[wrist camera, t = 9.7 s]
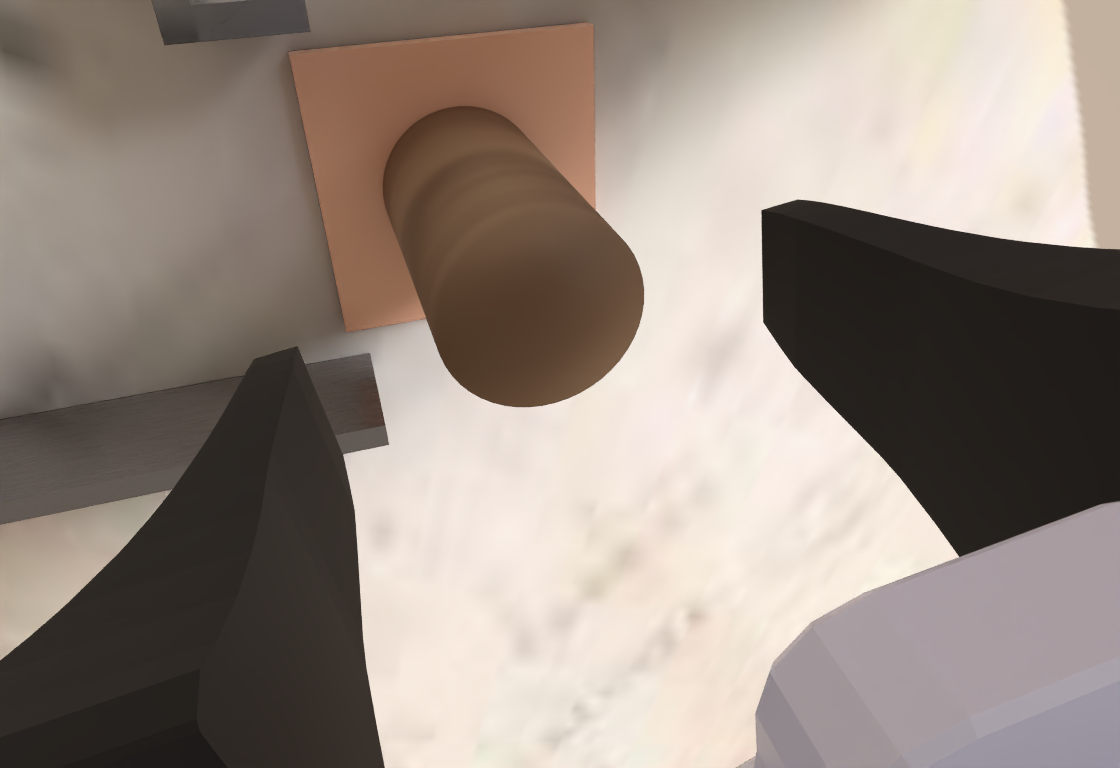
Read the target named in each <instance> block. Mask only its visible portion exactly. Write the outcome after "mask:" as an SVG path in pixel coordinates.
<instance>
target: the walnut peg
mask: <svg viewBox="0 0 1120 768" xmlns="http://www.w3.org/2000/svg"><path fill="white" fill-rule="evenodd" d="M383 197H384V203H385V207H386V210H387V213H388V216H389V219H390V222H391V224H392V227H393V230H394V232H395V235H396V238H397V241H398V243H399V246H400V249H401V251H402V254H403V257H404V260H405V262H406V265H407V268H408V270H409V273H410V276H411V278H412V281H413V284H414V287H415V289H416V292H417V295H418V297H419V300H420V303H421V305H422V308H423V311H424V314H425V316H426V319H427V322H428V324H429V327H430V330H431V333H432V335H433V338H434V341H435V343H436V346H437V349H438V351H439V354H440V356H441V358H442V360H443V362H444V364H445V366H446V368H447V369H448V371H449V372H450V373H451V375H452V376H453V377H454V378H455V379H456V380H457V381H458V382H459V383H460V385H462V386H463V387H464V388H466V389H467V390H468V391H470V392H471V393H473V394H475V395H476V396H478V397H480V398H482V399H485V400H487V401H490V402H492V403H496V404H500V405H504V406H512V407H535V406H543V405H548V404H552V403H556V402H559V401H562V400H565V399H568V398H570V397H572V396H575V395H577V394H579V393H581V392H582V391H584V390H586V389H588V388H589V387H591V386H592V385H594V384H595V383H596V382H598V381H599V380H600V379H602V378H603V377H604V376H605V375H606V374H607V373H608V372H609V371H611V370H612V368H613V367H614V366H615V365H616V364H617V363H618V362H619V361H620V359H621V358H622V357H623V355H624V354H625V352H626V351H627V350H628V348H629V346H630V344H631V342H632V341H633V339H634V337H635V334H636V332H637V329H638V327H639V324H640V320H641V316H642V312H643V305H644V286H643V278H642V274H641V271H640V267H639V265H638V262H637V260H636V258H635V256H634V254H633V253H632V251H631V249H630V248H629V246H628V245H627V244H626V243H625V242H624V240H623V239H622V238H621V237H620V236H619V235H618V234H617V233H616V232H615V231H614V230H613V229H612V227H611V226H610V225H609V224H608V223H607V222H606V221H605V220H604V219H603V218H602V217H601V216H600V215H599V214H598V212H597V211H596V210H595V209H594V208H593V207H592V206H591V205H590V204H589V203H588V202H587V201H586V200H585V199H584V198H583V196H582V195H581V194H580V193H579V192H578V191H577V190H576V189H575V188H574V187H573V186H572V185H571V184H570V183H569V181H568V180H567V179H566V178H565V177H564V176H563V175H562V174H561V173H560V172H559V171H558V170H557V169H556V168H555V166H554V165H553V164H552V163H551V162H550V161H549V160H548V159H547V158H546V157H545V156H544V155H543V154H542V153H541V151H540V150H539V149H538V148H537V147H536V146H535V145H534V144H533V143H532V142H531V141H530V140H529V139H528V138H527V136H526V135H525V134H524V133H523V132H522V131H521V130H520V129H519V128H518V127H517V126H516V125H515V124H513V123H512V122H511V121H510V120H508V119H507V118H505V117H504V116H502V115H500V114H498V113H496V112H493V111H491V110H487V109H484V108H480V107H473V106H457V107H450V108H445V109H442V110H438V111H436V112H433V113H431V114H429V115H427V116H425V117H423V118H422V119H420V120H418V121H417V122H416V123H415V124H413V125H412V126H411V127H410V128H409V129H408V130H407V131H406V132H405V133H404V134H403V135H402V136H401V137H400V139H399V140H398V141H397V143H396V144H395V146H394V148H393V149H392V151H391V153H390V155H389V158H388V160H387V163H386V167H385V171H384V177H383Z"/></svg>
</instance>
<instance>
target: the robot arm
mask: <svg viewBox="0 0 1120 768" xmlns="http://www.w3.org/2000/svg"><path fill="white" fill-rule="evenodd" d="M761 211H762V270H763V322H764V324H765V325H766V327H767V328H768V330H769V331H770V333H771V334H772V336H773V337H774V339H775V340H776V342H777V343H778V345H779V346H780V348H781V349H782V351H783V352H784V353H785V355H786V356H787V357H788V359H789V360H790V361H791V363H792V364H793V365H794V367H795V368H796V369H797V370H798V371H799V372H800V373H801V375H802V376H803V377H804V378H805V379H806V380H807V381H808V382H809V383H810V384H811V385H812V386H813V387H814V388H815V389H816V390H817V391H818V392H819V393H820V395H821V396H822V397H823V398H824V399H825V400H826V401H827V402H828V403H829V404H830V405H831V406H832V407H833V408H834V409H835V410H836V411H837V412H838V413H839V414H840V415H841V416H842V417H843V418H844V419H845V420H846V421H847V422H848V423H849V424H850V425H851V426H852V427H853V428H854V429H855V430H856V431H857V432H858V433H859V434H860V435H861V436H862V437H863V439H864V440H865V441H866V442H867V443H868V444H869V445H870V446H871V447H872V448H873V449H874V450H875V451H876V452H877V453H878V454H879V455H880V456H881V457H882V458H883V459H884V460H885V461H886V462H887V464H888V465H889V466H890V467H891V468H892V469H893V470H894V471H895V473H896V474H897V475H898V476H899V477H900V478H901V480H902V481H903V482H904V483H905V485H906V486H907V487H908V489H909V490H910V491H911V492H912V494H913V495H914V496H915V498H916V499H917V500H918V502H919V503H920V504H921V505H922V507H923V508H924V509H925V511H926V512H927V513H928V515H929V516H930V517H931V518H932V520H933V521H934V522H935V524H936V525H937V526H938V528H939V529H940V531H941V532H942V533H943V535H944V536H945V537H946V539H947V540H948V542H949V543H950V544H951V546H952V547H953V549H954V550H955V551H956V553H957V554H958V556H959V558H956V559H953V560H951V561H948V562H945V563H943V564H940V565H937V566H935V567H932V568H929V569H927V570H924V571H921V572H919V573H916V574H913V575H911V576H908V577H905V578H903V579H900V580H897V581H895V582H892V583H889V584H887V585H884V586H881V587H879V588H876V589H873V590H871V591H868V592H865V593H863V594H861V595H859V596H857V597H856V598H854V599H852V600H850V601H848V602H847V603H845V604H843V605H841V606H840V607H838V608H836V609H834V610H832V611H831V612H829V613H827V614H825V615H823V616H822V617H820V618H818V619H816V620H814V621H813V622H811V623H810V624H809V625H808V626H807V627H806V628H805V629H804V630H803V631H802V632H801V634H800V635H799V636H798V637H797V638H796V639H795V640H794V641H793V642H792V643H791V644H790V645H789V646H788V647H787V648H786V649H785V650H784V651H783V652H782V653H781V654H780V655H779V657H778V658H777V659H776V660H775V661H774V662H773V664H772V667H771V670H770V673H769V675H768V678H767V681H766V684H765V687H764V690H763V693H762V696H761V699H760V702H759V705H758V707H757V710H756V713H755V716H756V744H757V752H756V756H755V757H753V758H751V759H749V760H748V761H746V762H744V763H743V764H741V765H739V766H738V767H736V768H1120V250H1119V249H1097V248H1082V247H1069V246H1060V245H1050V244H1041V243H1031V242H1022V241H1015V240H1007V239H1000V238H994V237H988V236H983V235H977V234H971V233H965V232H960V231H954V230H949V229H944V228H939V227H934V226H929V225H924V224H920V223H915V222H910V221H906V220H901V219H897V218H892V217H888V216H884V215H879V214H875V213H870V212H866V211H861V210H857V209H852V208H848V207H843V206H838V205H833V204H828V203H822V202H816V201H808V200H795V201H791V202H788V203H784V204H781V205H778V206H774V207H771V208H767V209H764V210H761ZM0 768H385V767H384V762H383V757H382V752H381V746H380V741H379V736H378V731H377V725H376V720H375V714H374V708H373V703H372V697H371V692H370V686H369V680H368V675H367V669H366V661H365V652H364V644H363V632H362V616H361V599H360V583H359V567H358V551H357V537H356V522H355V510H354V505H353V500H352V495H351V490H350V485H349V480H348V476H347V471H346V466H345V462H344V457H343V453H342V451H341V449H340V446H339V444H338V442H337V439H336V437H335V435H334V432H333V430H332V427H331V425H330V423H329V420H328V418H327V416H326V413H325V411H324V409H323V406H322V404H321V401H320V399H319V397H318V394H317V392H316V390H315V387H314V385H313V383H312V380H311V378H310V375H309V373H308V371H307V368H306V366H305V364H304V361H303V359H302V357H301V354H300V352H299V349H298V347H294V348H290V349H287V350H283V351H280V352H277V353H273V354H270V355H266V356H263V357H260V358H256V359H254V360H253V362H252V364H251V365H250V367H249V369H248V370H247V372H246V374H245V376H244V377H243V379H242V381H241V382H240V384H239V386H238V388H237V389H236V391H235V393H234V395H233V396H232V398H231V400H230V402H229V403H228V405H227V407H226V409H225V410H224V412H223V414H222V416H221V417H220V419H219V421H218V422H217V424H216V426H215V427H214V429H213V430H212V432H211V434H210V435H209V437H208V439H207V440H206V442H205V443H204V445H203V446H202V448H201V449H200V451H199V452H198V454H197V455H196V456H195V458H194V459H193V461H192V462H191V464H190V465H189V467H188V468H187V469H186V471H185V472H184V474H183V475H182V477H181V478H180V479H179V481H178V482H177V484H176V485H175V487H174V488H173V490H172V491H171V492H170V493H169V495H168V496H167V497H166V499H165V500H164V501H163V503H162V504H161V505H160V506H159V507H158V509H157V510H156V511H155V512H154V514H153V515H152V516H151V517H150V518H149V520H148V521H147V522H146V523H145V524H144V525H143V527H142V528H141V529H140V530H139V531H138V532H137V533H136V535H135V536H134V537H133V538H132V539H131V540H130V541H129V543H128V544H127V545H126V546H125V547H124V548H123V549H122V550H121V551H120V552H119V553H118V554H117V555H116V556H115V557H114V558H113V559H112V560H111V561H110V562H109V563H108V564H107V565H106V566H105V567H104V568H103V569H102V570H101V571H100V572H99V573H98V574H97V575H96V576H95V577H94V578H93V579H92V580H91V581H90V582H89V583H88V584H87V585H86V586H85V587H84V588H83V589H82V590H81V591H80V592H79V593H78V594H77V595H76V596H75V597H74V598H73V599H72V600H71V601H70V602H69V603H68V604H66V605H65V606H64V607H63V608H62V609H61V610H60V611H59V612H58V613H56V614H55V615H54V616H53V617H52V618H51V619H49V620H48V621H47V622H46V623H45V624H44V625H43V626H41V627H40V628H39V629H38V630H37V631H36V632H34V633H33V634H32V635H31V636H30V637H29V638H27V639H26V640H25V641H24V642H22V643H21V644H20V645H19V646H18V647H16V648H15V649H14V650H13V651H11V652H10V653H9V654H8V655H6V656H5V657H4V658H3V659H2V660H0Z"/></svg>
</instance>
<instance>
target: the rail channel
mask: <svg viewBox="0 0 1120 768" xmlns="http://www.w3.org/2000/svg"><path fill="white" fill-rule="evenodd" d="M152 3H153V6H154V10H155V13H156V17H157V20H158V24H159V27H160V31H161V34H162V38H163V41H164V45H172V44H183V43H194V42H204V41H215V40H226V39H237V38H248V37H258V36H269V35H280V34H291V33H301V32H310V27H309V22H308V17H307V11H306V6H305V1H304V0H152ZM305 366H306V368H307V371H308V373H309V375H310V378H311V380H312V383H313V385H314V387H315V390H316V392H317V394H318V397H319V399H320V401H321V404H322V406H323V409H324V411H325V413H326V416H327V418H328V420H329V423H330V425H331V427H332V430H333V432H334V435H335V437H336V439H337V442H338V444H339V446H340V449H341V451H342V453H343V454H346V453H351V452H356V451H361V450H365V449H370V448H375V447H380V446H385V445H389V442H388V437H387V432H386V426H385V422H384V417H383V412H382V408H381V403H380V398H379V394H378V389H377V384H376V380H375V375H374V370H373V366H372V361H371V356H370V353H368V354H363V355H357V356H352V357H346V358H341V359H335V360H329V361H324V362H318V363H313V364H307V365H305ZM243 377H244V376H241V377H235V378H230V379H224V380H218V381H213V382H207V383H202V384H196V385H191V386H185V387H180V388H174V389H169V390H163V391H157V392H152V393H146V394H141V395H135V396H130V397H124V398H119V399H113V400H108V401H102V402H96V403H91V404H85V405H80V406H74V407H69V408H63V409H58V410H52V411H46V412H41V413H35V414H30V415H24V416H19V417H13V418H8V419H2V420H0V525H1V524H6V523H11V522H15V521H20V520H25V519H30V518H35V517H40V516H45V515H50V514H54V513H59V512H64V511H69V510H74V509H79V508H84V507H88V506H93V505H98V504H103V503H108V502H113V501H118V500H122V499H127V498H132V497H137V496H142V495H147V494H152V493H156V492H161V491H166V490H171V489H173V488H174V487H175V485H176V484H177V482H178V481H179V479H180V478H181V477H182V475H183V474H184V472H185V471H186V469H187V468H188V467H189V465H190V464H191V462H192V461H193V459H194V458H195V456H196V455H197V454H198V452H199V451H200V449H201V448H202V446H203V445H204V443H205V442H206V440H207V439H208V437H209V435H210V434H211V432H212V430H213V429H214V427H215V426H216V424H217V422H218V421H219V419H220V417H221V416H222V414H223V412H224V410H225V409H226V407H227V405H228V403H229V402H230V400H231V398H232V396H233V395H234V393H235V391H236V389H237V388H238V386H239V384H240V382H241V381H242V379H243Z"/></svg>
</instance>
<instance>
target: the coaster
mask: <svg viewBox="0 0 1120 768" xmlns="http://www.w3.org/2000/svg"><path fill="white" fill-rule="evenodd" d="M289 58H290V63H291V68H292V72H293V77H294V82H295V87H296V92H297V97H298V101H299V106H300V111H301V116H302V121H303V125H304V130H305V135H306V140H307V145H308V150H309V154H310V159H311V164H312V169H313V174H314V179H315V183H316V188H317V193H318V198H319V203H320V208H321V212H322V217H323V222H324V227H325V232H326V236H327V241H328V246H329V251H330V256H331V261H332V265H333V270H334V275H335V280H336V285H337V290H338V294H339V299H340V304H341V309H342V314H343V319H344V323H345V328H346V332H351V331H357V330H363V329H368V328H374V327H380V326H386V325H391V324H397V323H403V322H409V321H414V320H420V319H426V316H425V314H424V311H423V308H422V305H421V303H420V300H419V297H418V295H417V292H416V289H415V287H414V284H413V281H412V278H411V276H410V273H409V270H408V268H407V265H406V262H405V260H404V257H403V254H402V251H401V249H400V246H399V243H398V241H397V238H396V235H395V232H394V230H393V227H392V224H391V222H390V219H389V216H388V213H387V210H386V207H385V203H384V197H383V177H384V171H385V167H386V163H387V160H388V158H389V155H390V153H391V151H392V149H393V148H394V146H395V144H396V143H397V141H398V140H399V139H400V137H401V136H402V135H403V134H404V133H405V132H406V131H407V130H408V129H409V128H410V127H411V126H412V125H413V124H415V123H416V122H417V121H418V120H420V119H422V118H423V117H425V116H427V115H429V114H431V113H433V112H436V111H438V110H442V109H445V108H450V107H457V106H473V107H480V108H484V109H487V110H491V111H493V112H496V113H498V114H500V115H502V116H504V117H505V118H507V119H508V120H510V121H511V122H512V123H513V124H515V125H516V126H517V127H518V128H519V129H520V130H521V131H522V132H523V133H524V134H525V135H526V136H527V138H528V139H529V140H530V141H531V142H532V143H533V144H534V145H535V146H536V147H537V148H538V149H539V150H540V151H541V153H542V154H543V155H544V156H545V157H546V158H547V159H548V160H549V161H550V162H551V163H552V164H553V165H554V166H555V168H556V169H557V170H558V171H559V172H560V173H561V174H562V175H563V176H564V177H565V178H566V179H567V180H568V181H569V183H570V184H571V185H572V186H573V187H574V188H575V189H576V190H577V191H578V192H579V193H580V194H581V195H582V196H583V198H584V199H585V200H586V201H587V202H588V203H589V204H590V205H591V206H592V207H593V208H594V209H595V111H594V25H592V24H590V23H589V22H586V23H576V24H566V25H555V26H545V27H535V28H525V29H514V30H504V31H494V32H484V33H473V34H463V35H453V36H443V37H432V38H422V39H412V40H401V41H391V42H381V43H371V44H360V45H350V46H340V47H330V48H319V49H309V50H299V51H289Z"/></svg>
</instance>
